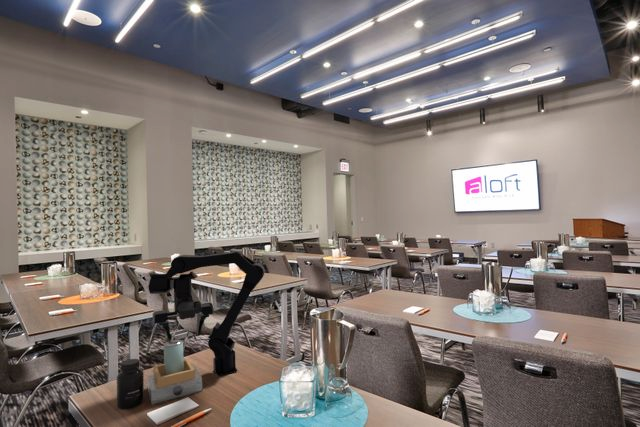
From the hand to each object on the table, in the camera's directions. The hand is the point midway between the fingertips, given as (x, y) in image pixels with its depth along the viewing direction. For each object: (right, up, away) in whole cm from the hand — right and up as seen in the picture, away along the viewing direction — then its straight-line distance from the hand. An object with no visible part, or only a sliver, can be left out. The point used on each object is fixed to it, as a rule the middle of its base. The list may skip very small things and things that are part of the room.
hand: (184, 338), depth 120 cm
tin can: (+1, -8, -11) cm, 14 cm away
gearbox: (+1, -12, -11) cm, 16 cm away
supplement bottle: (-8, -12, -19) cm, 24 cm away
